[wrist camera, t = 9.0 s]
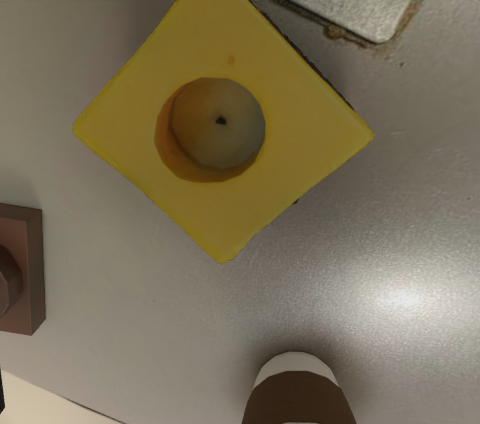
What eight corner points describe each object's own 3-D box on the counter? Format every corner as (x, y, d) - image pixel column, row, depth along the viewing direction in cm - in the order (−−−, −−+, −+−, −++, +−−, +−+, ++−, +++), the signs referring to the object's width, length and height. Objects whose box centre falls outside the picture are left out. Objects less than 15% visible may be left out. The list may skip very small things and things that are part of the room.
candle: (349, 103, 28) (387, 135, 19) (239, 204, 31) (225, 275, 22) (237, -21, 26) (217, -55, 16) (131, 101, 29) (64, 130, 20)
